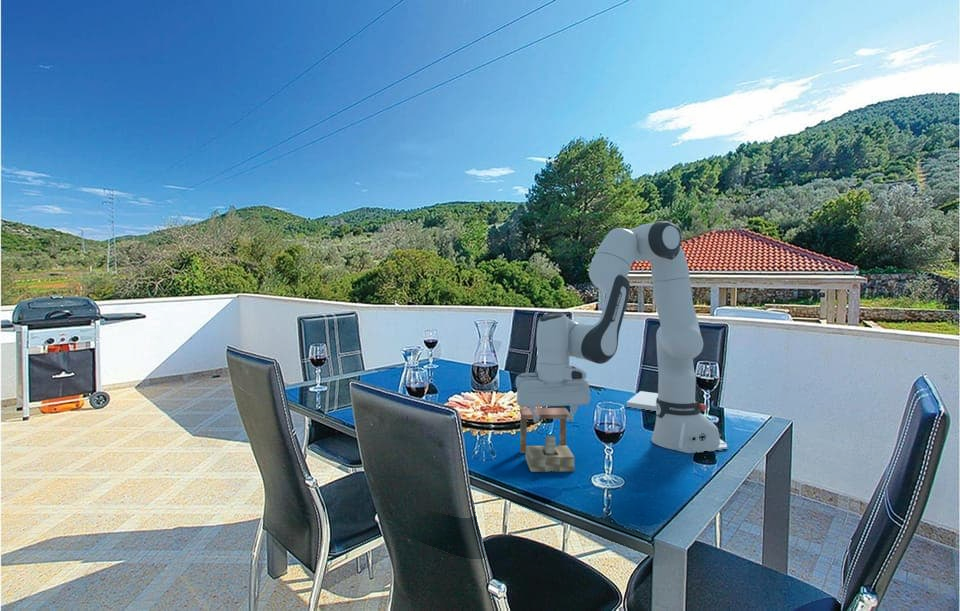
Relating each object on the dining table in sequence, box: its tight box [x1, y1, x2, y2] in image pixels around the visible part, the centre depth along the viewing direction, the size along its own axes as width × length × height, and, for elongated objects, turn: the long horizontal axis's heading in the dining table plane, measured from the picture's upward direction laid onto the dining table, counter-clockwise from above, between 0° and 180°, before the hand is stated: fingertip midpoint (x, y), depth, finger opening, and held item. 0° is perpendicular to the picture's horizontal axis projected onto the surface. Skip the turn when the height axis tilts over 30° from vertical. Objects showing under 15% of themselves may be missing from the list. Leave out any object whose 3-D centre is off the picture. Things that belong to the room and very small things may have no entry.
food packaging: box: [625, 390, 658, 412], centre depth 203 cm, size 15×3×20 cm
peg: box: [544, 435, 557, 455], centre depth 137 cm, size 3×3×8 cm
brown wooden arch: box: [519, 407, 570, 454], centre depth 145 cm, size 14×7×13 cm, turn 93°
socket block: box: [525, 445, 575, 473], centre depth 138 cm, size 12×9×4 cm
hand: (553, 421), depth 135 cm, fingers open, 8 cm apart
